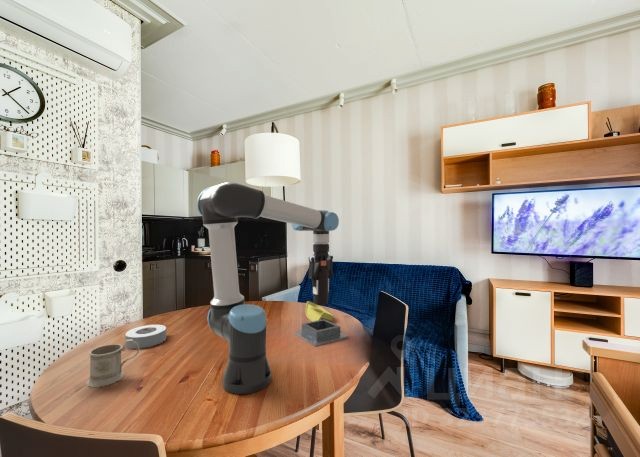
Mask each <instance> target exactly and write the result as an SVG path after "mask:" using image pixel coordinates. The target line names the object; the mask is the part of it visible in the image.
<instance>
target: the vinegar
mask: <svg viewBox="0 0 640 457" xmlns="http://www.w3.org/2000/svg"><path fill="white" fill-rule="evenodd" d="M316 263H317V262H316ZM317 280H318V295H316V294H313V303H314V304H316V305H318V306H324V305H325V306H326V305H328V303H329V292H328V270H327V269H326V261H321V266H320V267H319V271H318V276H317Z"/></svg>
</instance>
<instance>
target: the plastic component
mask: <svg viewBox="0 0 640 457" xmlns="http://www.w3.org/2000/svg"><path fill="white" fill-rule="evenodd" d="M305 315H306V318H307V319H309V321H310V322H313V321H318V320H322V319H325V320H327V321H329V322H332V321H334V318H335V315H334V314H332V313H331V312H329V311H328V310H326V309H325V308H323V307H322V306H321V305H316V304H314V302H312V301H309V300H308V301H306V304H305Z"/></svg>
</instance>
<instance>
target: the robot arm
mask: <svg viewBox="0 0 640 457" xmlns="http://www.w3.org/2000/svg"><path fill="white" fill-rule="evenodd" d="M196 207H197V211H198V213H199V214H200V215H201V216H202V223H203V224H202V225H203V227H205V228H206V229H207V230H208V239H209V253H210V260H211V262H210V264H211V273H212V283H213V284H212V285H213V298H212V299H211V300H210V302H209V303H210V309H209V310H208V311H207V319H206V320H207V324H208V326H209V328H210V330H211V331H212V332H213V333H214V334H215V335H217V336H219V337H220V338H222V339H224V340H225V341H227V342H228V360H227V364H226V367H225V369H224V373H223V377H222V387H223V389H224V390H225V391H227V392H228V393H231V394H236V395H247V394H252V393H256V392H259V391H261V390H263V389H265V388H266V387H268V385H269V384H270V383H271V381H272V369H271V366H270V364H269V361H268V358H267V325H268V324H267V323H268V321H267V313H266V311H265V309H264V308H262V307H261V306H259V305H256V304H250V303H249V304H248V303H246V304H245V302H246V301H245V296H244V295H243V294H241V292H240V284H239V273H238V272H239V271H238V260H237V259H238V258H237V251H236V250H237V247H236V236H235V234H236V233H235V227H236V226H237V224H238V223H239V220H238V218H252V219H259V218H260V217H261V218H264V219H269V220H273V221H277V222H282V223H283V222H284V223H287V224H290V225H291V228H292V229H293V230H294V231H299V232H307V231H308V232H312V242H313V243H314V244H313V245H312V250H313V255H312V256H309V257H308V279H309V280H311V287H312V294H313V295H314V294H316V295H318V280H317V276H318V271H319V267H320V266H321V261H326V269H327V270H328V293H329V292H330V289H329V288H330V281H331V280H330V279H332V277H333V276H334V268H333V266H334V265H333V264H334V263H333V259H334V255H330V254H329V252H330V244H329V243H330V232H331V231H336V230H337V229H338V227H339V223H340V221H339V220H340V219H339V216H338V215H337V213H335V212H333V211H329V210H324V209H323V210H322V209H314V208H312V207H311V208H310V207H307V206H304V205H301V204H299V203H298V204H297V203H293V202H290V201H286V200H283V199H279V198H277V197H273V196H271V195H270V196H269V195H266V194H265V192H264V191H262V190H260V189H256V188H253V187H250V186H247V185H245V184H240V183H236V182H223V183H220V184H215V185H211V186H208V187H207V188H205V189H203V190H202V191H201V192H200V194H198V197H197V200H196ZM316 262H317V263H316Z"/></svg>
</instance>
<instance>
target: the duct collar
mask: <svg viewBox="0 0 640 457" xmlns="http://www.w3.org/2000/svg"><path fill="white" fill-rule="evenodd" d="M294 334H295V336H298V337H299V338H301V339H302V340H304V341H305V342H307V343H308V344H310V345H312V346H314V347H319V346H322V345H325V344H330V343H334V342H337V341H341V340H344V339H348V338H349V336H348V335H347V334H345V333H343V332H341V326H340V325H337V324H336V323H333V322H332V321H329V320H326V319H324V318H322V319H321V320H318V321H313V322H312V321H309V322H303V323H301V330H296V331H294Z"/></svg>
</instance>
